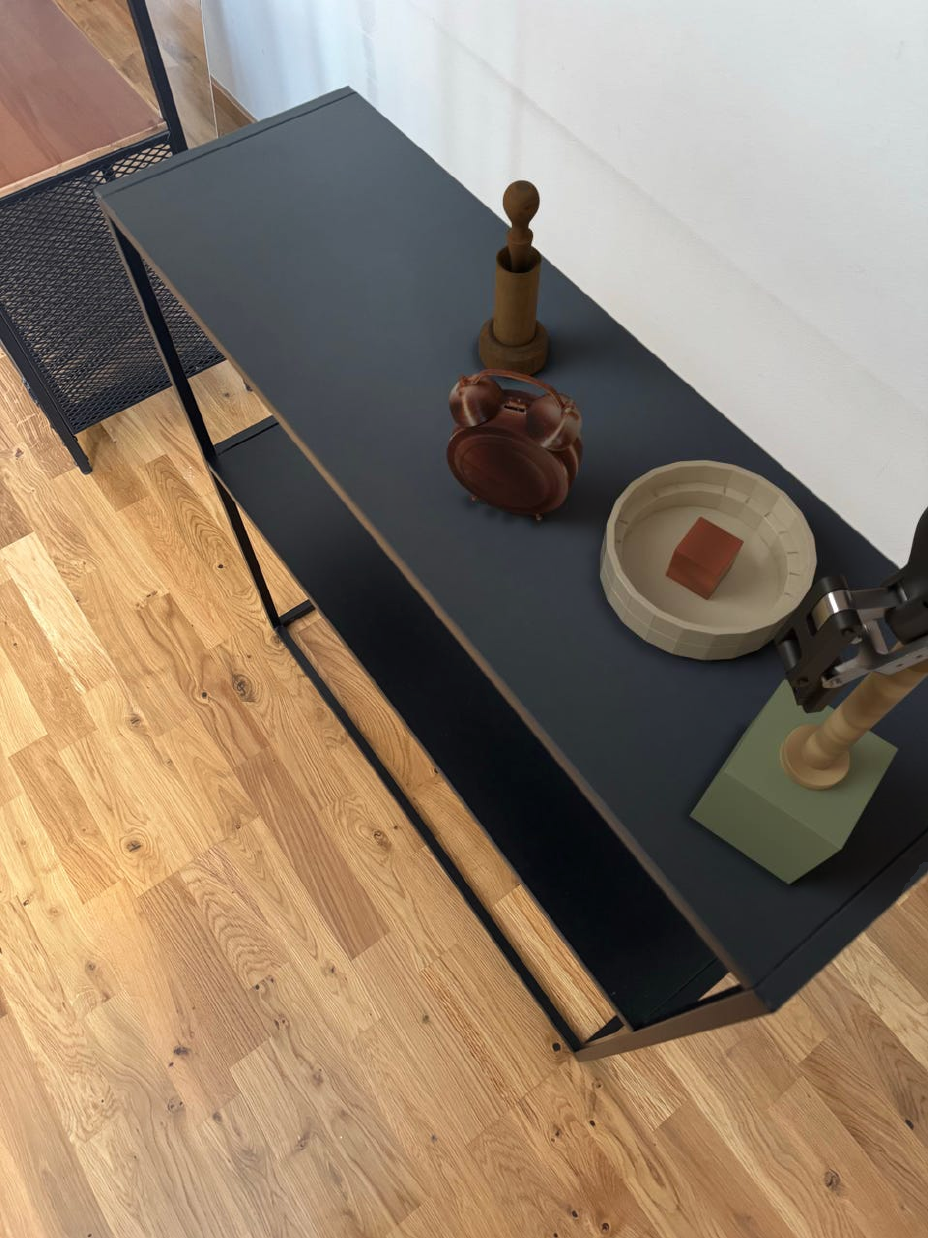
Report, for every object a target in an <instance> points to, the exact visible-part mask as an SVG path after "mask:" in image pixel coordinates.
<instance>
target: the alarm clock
mask: <svg viewBox="0 0 928 1238" xmlns="http://www.w3.org/2000/svg"><path fill="white" fill-rule="evenodd" d="M493 377H501V378H507V377H508V378H509V379H513V380H517V381H520V382H524V383H527V384H529V385H532V386H535V387H537V388H539V389H542V390H544V391H545V392H547V393H544V394H542V395H539V396H538V395H536V394H534V393H530V392H527V391H523V390H518V389H511V388H502V386H501V385H500V384H499V382H498V381H496V380H495V379H494V378H493ZM508 378H507V379H508ZM448 406H449V407H448V408H449V412H450V414H451V416H452V418H453V420H454V422H455V426H454V428H453V431H452V433H451V435H450V440H449V442H448V445H447V447H446V454H445V455H446V461H447V464H448V468H449V470H450V472H451V473H452V475H453V476H454V478H455V479H456V480H457V482H458V483H459V484H460V486H462V487H463V488H464V490H466V491H467V492H468V493H469V494H471V500H472V501H477V500H480V501H482V502H483V503H485V504H487V505H489V506H491V507H494V508H496V509H498V510H501V511H504V512H507V513H512V514H518V515H529V516H530V515H531V516H532V515H533V516H536V517H535V518H536V520H537V521H541V520H542V519H543V517H542V514H546V513H549V512H551V511H554V510H556V509H557V508H558V507H560V506H561V505H562V504H563V503H564V501H565V500H566V498H567V496H568V494H569V492H570V490H571V488H572V487H573V485H574V484H575V481H576V479H577V476H578V473H579V468H580V465H581V460H582V458H583V451H584V450H583V448H584V446H583V440H582V436H581V433H580V432H581V430H582V428H583V417H582V413H581V410H580V407H579V406H578V404H577V403H576V402H575V401H574V400H573V399H572V398H571V397H569V396H568V395H566V394H564V393H560V392H558V391H557V390H556V389H555V387H553V386H552V385H550V384H548V383H546V382H545V381H542V380H541V379H538V378H535V377H534V376H532V375H530V376H528V375H524V374H521V373H517V372H513V371H507V370H499V369H487V368H486V369H483V370H481V371H480V373H473V374H470V375H467V376H466V375H465V374H461V375H459V376H458V382H457V383H456V384H455V385H454V387H453V388H452V390H451V391H450V394H449V397H448Z"/></svg>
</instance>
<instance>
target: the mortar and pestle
mask: <svg viewBox="0 0 928 1238" xmlns="http://www.w3.org/2000/svg"><path fill="white" fill-rule="evenodd" d="M540 197H541V196H540V193H539V190H538V189H537V187H536V186H535V185H534V183H532V182H531V181H529V180H525V179H519V180H515V181H513V182H511V183H510V184H509V185H508V186H507V187H506V189H505V190H504V193H503V196H502V209H503V211H504V213H505V215H506V216H507V218H508V220H509V221H510V223H511V227H510V228H508V230H507V231H506V235H505V236H506V244H507V245H505V246H503V247H501V248H500V249H499V250H498V251H497V253H496V255H495V266H494V267H495V269H494V270H495V271H494V272H495V273H494V275H495V277H494V281H495V282H494V305H493V309H494V310H493V316H492V317H491V318H489V319H488V320H487V321H486V322H485V323H483V325H482V327H481V329H480V332H479V338H478V339H479V340H478V355H479V359H480V362H481V363H482V365H483V366H484V367H485V368H486V369H499V370H507V371H513V372H517V373H521V374H524V375H528V376H532V375H534V374H536V373H537V372H538V371H540V370H541V369H542V368H543V367H544V365H545V363H546V361H547V356H548V345H549V336H548V332H547V330H546V327H544V325H543V324H542V323H541V322H540V321H539V320H538V319H537V310H538V300H539V298H538V297H539V288H540V287H539V285H540V279H541V278H540V277H541V270H542V269H541V268H542V255H541V253H540V251H539V250H538V249H537V248H535V247H534V246H532V244H533V240H534V232H533V230H532V229H531V228H530V227H529V226H530V223H531V222H532V221H533V219H534V218H535V216H536V215H537V213H538V211H539V208H540V204H541V198H540ZM506 378H507V379H508V377H506Z"/></svg>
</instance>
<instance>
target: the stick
mask: <svg viewBox="0 0 928 1238" xmlns="http://www.w3.org/2000/svg"><path fill="white" fill-rule="evenodd" d="M902 646H903V645H902V644H901V642H900V641H899V640H898V642H897V643H896V644H895V645H894V646H893V647H892V648H891V649H890V651H889V650H888V652H892V651H894V650H896V649H898V648H900V647H902ZM927 677H928V658H927V659H925V660H923V661H921V662H918V663H916V664H914V665H912V666H909V667H907V668H905V669H903V670H900V671H898V672H896V673H894V674H891V675H888V676H884V675H881V674H877V673H874V672H870V673H867V674H866V676H865V677H864V678H863V679H862V680H861V681H860V683H858V685H857V686H855V688H854V689H853V690H852V691H851V692H850V693H849V695H848V696H846V698H845V699H843V701H842V702H841V703H839V705H838V706H837V707H836V708H834V709H835V711H834V712H833V713H832V714H831V715H830V716H829V717H828V718H827V719H826V720H825V721H824V722H823V723H822V725H821V726H819V725H804V726H800V727H798V728H796V729H794V730H793V731H792V732H791V733H790V734H789V735H788V736H787V737H786V739H785V740H784V741H783V743H782V746H781V749H780V760H781V764H782V766H783V769H784V770H785V772H786V773H787V775H788V776H789V777H790V778H791V779H792V780H793V781H794V782H795V783H797V784H798V785H800V786H802V787H804V788H807V789H811V790H825V789H829V788H831V787H833V786H835V785H836V784H837V783H838V782H840V781H841V780H842V779H843V778H844V777H845V775H846V774H847V772H848V770H849V766H850V756H849V752H848V749H849V748H850V747H851V746H852V745H854V744H855V743H856V742H857V741H858V740H859V739H860V738H861V737H862V736H863V735H864V734H865V733H866V732H868V731H870V730H871V729H872V728H873V727H874V726H876V724H877V723H878V722H880V721H881V719H883V718H884V717H885V716H886V715H887V714H888V713H889V712H890V711H892V710H893V709H894V708H895V707H896V706H897V705H898V704H899V703H901V701H902V700H903V699H904V698H905V697H906V696H908V695H909V694H910V693H911V692H912V691H913V690H914V689H915V688H916V687H917V686H918V685H919V684H920V683H922V682H923V680H925V679H926V678H927Z"/></svg>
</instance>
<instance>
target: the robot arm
mask: <svg viewBox="0 0 928 1238" xmlns="http://www.w3.org/2000/svg"><path fill="white" fill-rule="evenodd" d="M882 618H884V622H885V624H886V625H887V627H888V628H889V629H890V630H891V631H892V633H893V634H894V635H895V637H896V638H897V640H898V642H899V641H900V642H901V644H902V645H903V646H902V647H900V648H898V649H896V650H894V651H892V652H889V650H888V647H887V645H886V642H885V638H884V637H883V635H882V631H881V629H880V628H879V627H880V626H879V625H878V619H882ZM773 640H774V643H775V646H776V649H777V652H778V655H779V659H780V662H781V664H782V667H783V670H784V673H785V677H786V680H787V681H788V682H789V685H790V686H791V688H792V691H793V694H794V697H795V700H796V703H797V706H800V705H802V708H803V710H804V712H805V713H815V712H821V711H823V709H824V708H825V707H826V706H827V705H828V706H829V704H830V703H831V702H832V701H833V700H834V699H835V698H836V696H838V694H839V693H840V692H841V691H842V690H843V689H844V688H845V687H846V685H847V684H848V683H850V682H852V681H855V680H856V679H858V678H861V677H864V676H865V675H868V674H869V673H870V672H874V673H877V674H881V675H884V676H888V675H891V674H894V673H896V672H898V671H900V670H903V669H905V668H907V667H909V666H912V665H914V664H916V663H918V662H921V661H923V660H925V659H927V658H928V506H926V508H925V509H924V511H923V512H922V514H921V515H920V517H919V519H918V521H917V524H916V526H915V529H914V534H913V538H912V543H911V547H910V551H909V556H908V560H907V562H906V564H904V565H903V567H901V568H900V569H898V570H897V571H896V572H894V573H892V574H890V575H889V576H887V577H886V578H884V579H883V580H882V581H881V582H880V583H879V585H878V586H877V588H868V589H859V590H858V589H857V590H856V589H855V590H850V589H849V587H848V584H847V581H846V578H845V576H844V575H843V574H839V573H837V574H830V575H826V576H824V577H822V578H820V579H819V580H817V581H816V582H815V583H814V585H812V586H811V588H810V589H809V591H808V592H807V594H806V595H805V597H804V598H803V600H802V601H801V603H800V604H799V605H798V607H797V608H796V609H795V611H794V612H793V613H792V614H791V616H790V617H789V618H788V620H787V621H786V622H785V623H784V625H783V626H782V627H781V629H780V630H779V631H778V632H777V634H776V635H775V636H774V638H773ZM849 645H856V647H857V651H858V652H857V655H856V656H855V657H854V658H852V659H848V660H847V661H845V662H844V660H843V658H842V655H841V654H842V653H843V652H844V651H845V650H846V649H847V648H848V646H849Z"/></svg>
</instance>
